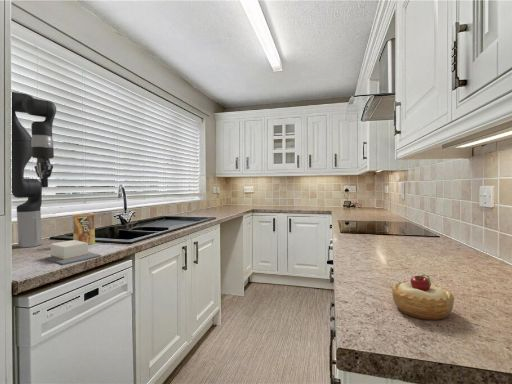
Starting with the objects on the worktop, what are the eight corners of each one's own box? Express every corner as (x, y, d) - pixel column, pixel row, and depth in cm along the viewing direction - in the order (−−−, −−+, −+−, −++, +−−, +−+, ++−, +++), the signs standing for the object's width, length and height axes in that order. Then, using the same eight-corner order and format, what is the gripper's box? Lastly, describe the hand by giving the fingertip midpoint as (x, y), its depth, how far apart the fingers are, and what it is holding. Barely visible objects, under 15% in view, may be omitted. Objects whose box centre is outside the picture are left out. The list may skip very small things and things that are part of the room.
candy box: (93, 242, 144) (92, 212, 144) (95, 243, 141) (94, 213, 141) (73, 245, 139) (72, 214, 138) (74, 246, 135) (73, 215, 135)
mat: (45, 259, 113) (45, 257, 113) (82, 251, 125) (82, 250, 125) (63, 265, 104) (63, 263, 104) (101, 256, 116) (101, 254, 116)
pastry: (424, 300, 70) (425, 264, 70) (467, 321, 59) (468, 279, 59) (381, 302, 68) (381, 266, 68) (416, 325, 57) (417, 281, 57)
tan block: (50, 243, 116) (63, 247, 109) (74, 239, 123) (87, 242, 117) (50, 255, 116) (64, 259, 109) (74, 251, 123) (88, 254, 117)
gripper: (25, 147, 120) (27, 187, 121) (38, 144, 113) (40, 187, 114) (46, 148, 127) (48, 187, 127) (59, 146, 119) (61, 187, 120)
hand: (44, 187), depth 121 cm, fingers closed
